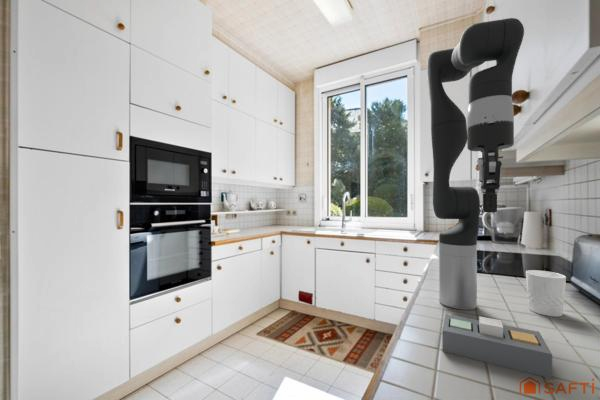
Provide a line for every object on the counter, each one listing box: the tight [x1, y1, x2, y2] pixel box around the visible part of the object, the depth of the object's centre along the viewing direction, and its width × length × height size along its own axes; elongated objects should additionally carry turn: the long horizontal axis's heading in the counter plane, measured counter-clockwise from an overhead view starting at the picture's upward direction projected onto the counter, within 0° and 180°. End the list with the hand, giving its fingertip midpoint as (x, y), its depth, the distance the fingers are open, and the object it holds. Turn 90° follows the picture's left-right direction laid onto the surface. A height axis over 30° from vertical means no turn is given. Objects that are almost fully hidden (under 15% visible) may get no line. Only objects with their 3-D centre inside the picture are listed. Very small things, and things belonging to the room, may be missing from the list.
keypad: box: [442, 313, 553, 379], centre depth 53 cm, size 9×16×4 cm, turn 59°
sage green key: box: [450, 319, 471, 331], centre depth 55 cm, size 4×4×2 cm
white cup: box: [525, 269, 567, 317], centre depth 72 cm, size 8×8×10 cm
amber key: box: [510, 330, 539, 345], centre depth 50 cm, size 4×4×2 cm
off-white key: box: [478, 316, 504, 338], centre depth 53 cm, size 4×4×2 cm
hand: (489, 212), depth 54 cm, fingers closed
